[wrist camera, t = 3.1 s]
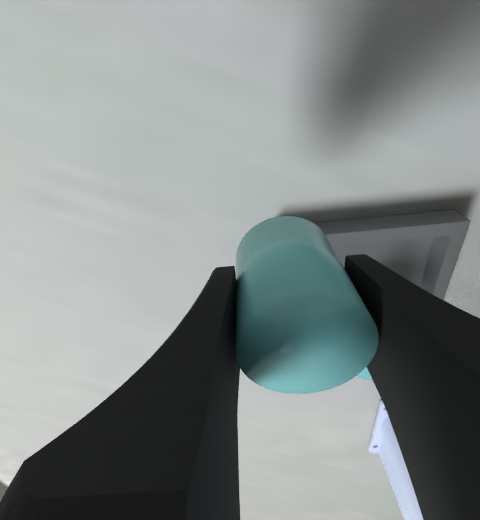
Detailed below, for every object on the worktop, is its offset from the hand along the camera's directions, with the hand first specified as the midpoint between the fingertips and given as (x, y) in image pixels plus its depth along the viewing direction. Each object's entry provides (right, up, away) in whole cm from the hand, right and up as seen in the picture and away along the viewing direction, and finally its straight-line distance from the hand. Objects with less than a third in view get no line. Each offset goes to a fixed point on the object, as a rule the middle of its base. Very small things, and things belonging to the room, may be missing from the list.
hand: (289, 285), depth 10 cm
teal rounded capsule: (0, +1, +1) cm, 2 cm away
